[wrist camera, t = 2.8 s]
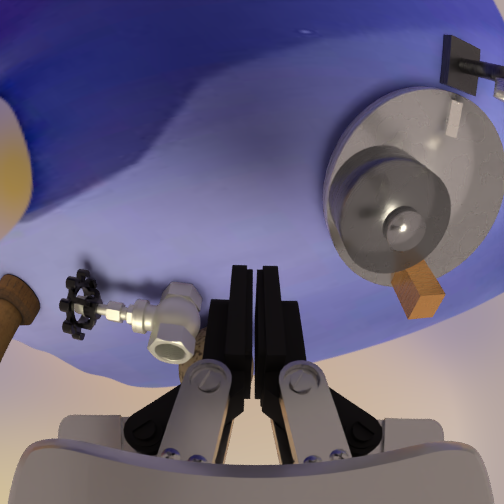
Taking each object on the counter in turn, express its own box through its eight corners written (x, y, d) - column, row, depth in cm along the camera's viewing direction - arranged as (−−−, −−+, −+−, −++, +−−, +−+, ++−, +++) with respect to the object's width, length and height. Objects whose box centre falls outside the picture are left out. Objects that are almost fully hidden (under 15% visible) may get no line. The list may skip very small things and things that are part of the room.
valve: (206, 271, 25) (81, 254, 24) (196, 331, 20) (50, 305, 19) (203, 320, 29) (94, 302, 28) (195, 376, 24) (73, 352, 23)
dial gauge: (440, 33, 13) (529, 41, 6) (475, 49, 13) (560, 69, 6) (436, 81, 15) (523, 110, 8) (470, 94, 15) (552, 130, 8)
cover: (336, 138, 15) (362, 163, 12) (434, 154, 16) (472, 181, 12) (320, 239, 20) (334, 283, 16) (408, 242, 20) (433, 280, 16)
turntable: (336, 62, 14) (372, 65, 9) (511, 119, 14) (557, 144, 10) (307, 275, 23) (319, 329, 19) (458, 273, 24) (483, 313, 19)
